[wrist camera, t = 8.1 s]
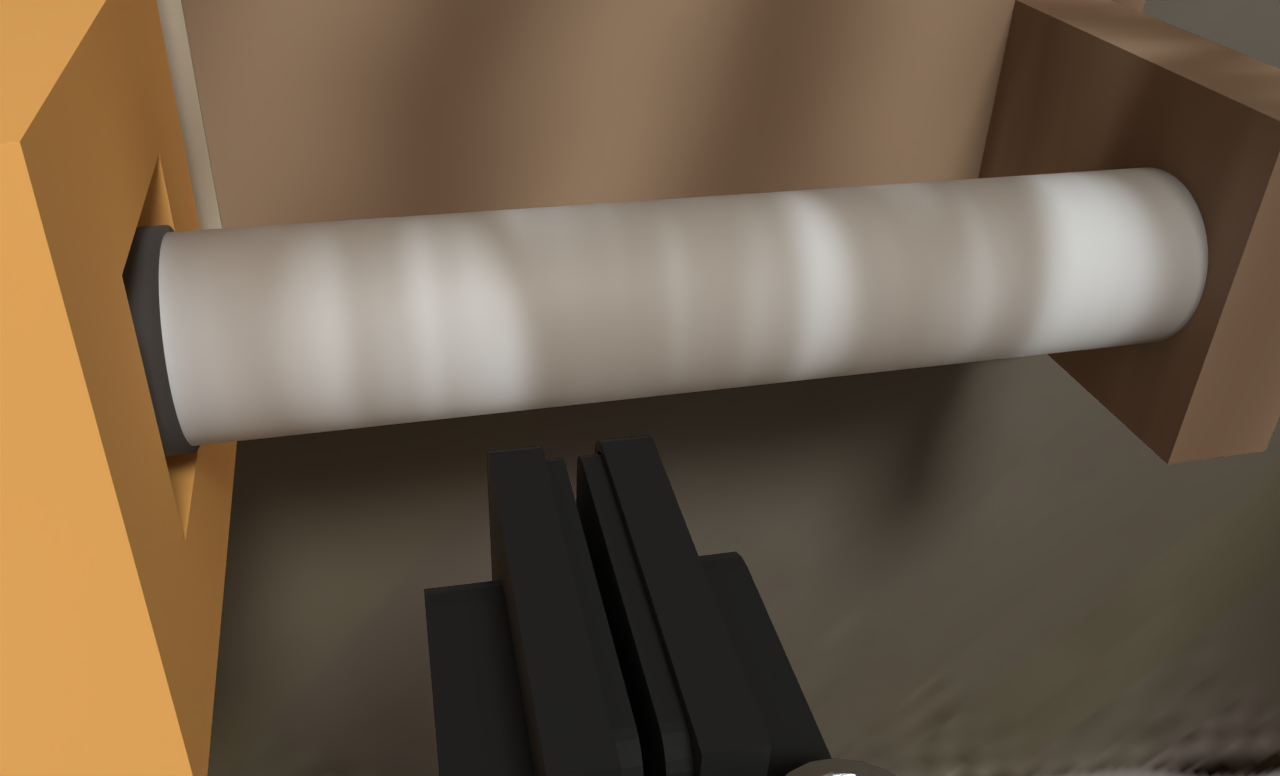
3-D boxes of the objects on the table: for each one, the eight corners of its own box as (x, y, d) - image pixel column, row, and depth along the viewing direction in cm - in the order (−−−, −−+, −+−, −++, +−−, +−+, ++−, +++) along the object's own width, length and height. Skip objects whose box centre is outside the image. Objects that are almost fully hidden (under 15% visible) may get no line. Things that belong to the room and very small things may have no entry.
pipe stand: (1143, -118, 22) (1518, -24, 15) (1032, 317, 28) (1274, 531, 21) (-530, -120, 16) (-1163, 37, 9) (-257, 444, 21) (-527, 814, 14)
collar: (144, -64, 17) (20, 142, 9) (237, 427, 22) (203, 815, 14) (-77, -61, 16) (-396, 161, 9) (71, 445, 21) (-56, 862, 14)
